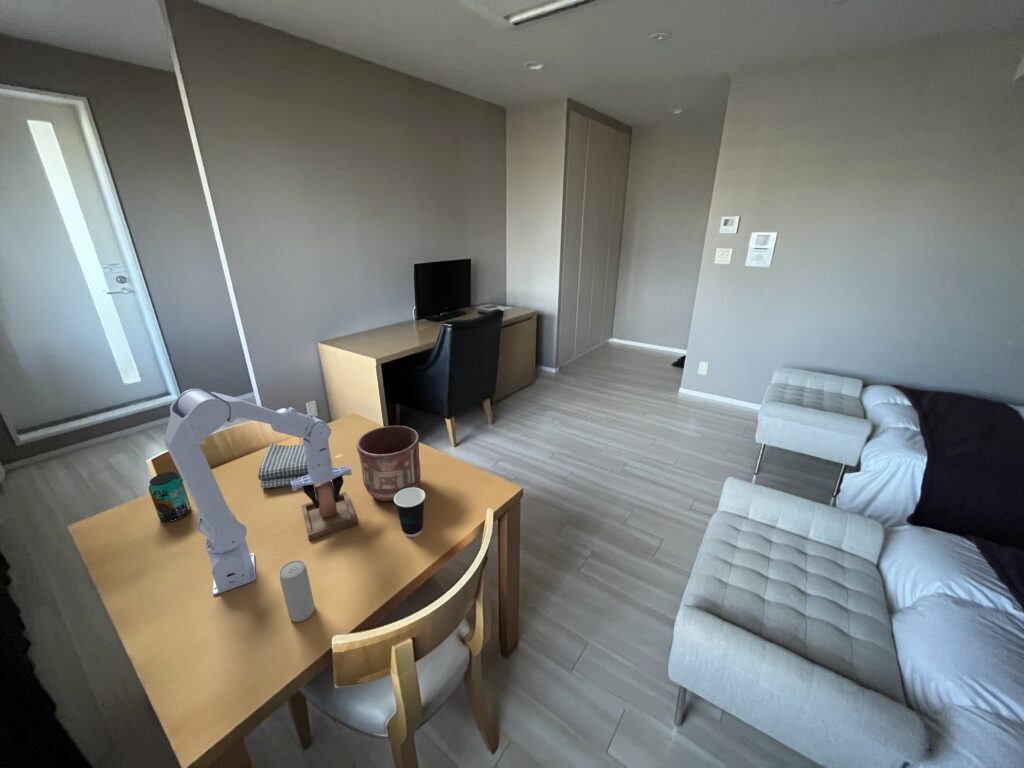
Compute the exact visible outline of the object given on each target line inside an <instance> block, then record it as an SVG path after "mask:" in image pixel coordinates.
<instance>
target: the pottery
mask: <svg viewBox="0 0 1024 768" xmlns="http://www.w3.org/2000/svg"><path fill="white" fill-rule="evenodd" d="M419 438H420V437H419V433H418V432H417V431H416V430H415V429H413V427H412V428H411V427H408V426H406V425H386V426H382V427H378V428H375V429H372V430H370V431H367V432H366V433H364V434H363V435H362V436H361V437H360V438H359V439H358V440H357V443H356V450H357V453H358V456H359V461H360V465H361V474H362V481H363V485H364V487H365V489H366V491H367V493H368V494H369V495H370V496H371V497H373V498H375V499H376V500H377V501H382V502H387V503H390V502H391V501H392V502H394V496H395V495H396V494H397V493H398V492H399V491H401V490H403V489H406V488H418V485H419V483H420V481H421V464H420V463H421V461H420V439H419Z"/></svg>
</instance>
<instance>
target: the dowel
mask: <svg viewBox="0 0 1024 768" xmlns="http://www.w3.org/2000/svg"><path fill="white" fill-rule="evenodd" d="M314 489H315V494H316V499H317V503H318V507H319V513H320V516H321V517H330V516H332V515H334V514H335V513H336V512H337V507H336V502H335V496H334V490H333V484H332V480H330V481H328V482H325V483H321V484H314Z"/></svg>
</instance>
